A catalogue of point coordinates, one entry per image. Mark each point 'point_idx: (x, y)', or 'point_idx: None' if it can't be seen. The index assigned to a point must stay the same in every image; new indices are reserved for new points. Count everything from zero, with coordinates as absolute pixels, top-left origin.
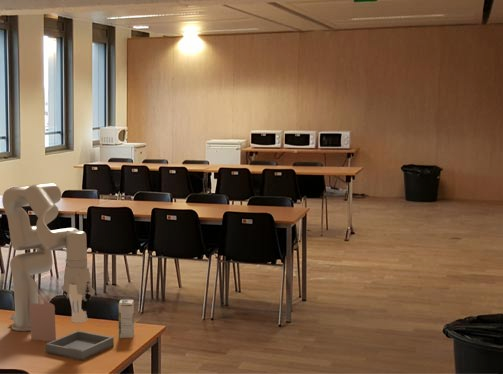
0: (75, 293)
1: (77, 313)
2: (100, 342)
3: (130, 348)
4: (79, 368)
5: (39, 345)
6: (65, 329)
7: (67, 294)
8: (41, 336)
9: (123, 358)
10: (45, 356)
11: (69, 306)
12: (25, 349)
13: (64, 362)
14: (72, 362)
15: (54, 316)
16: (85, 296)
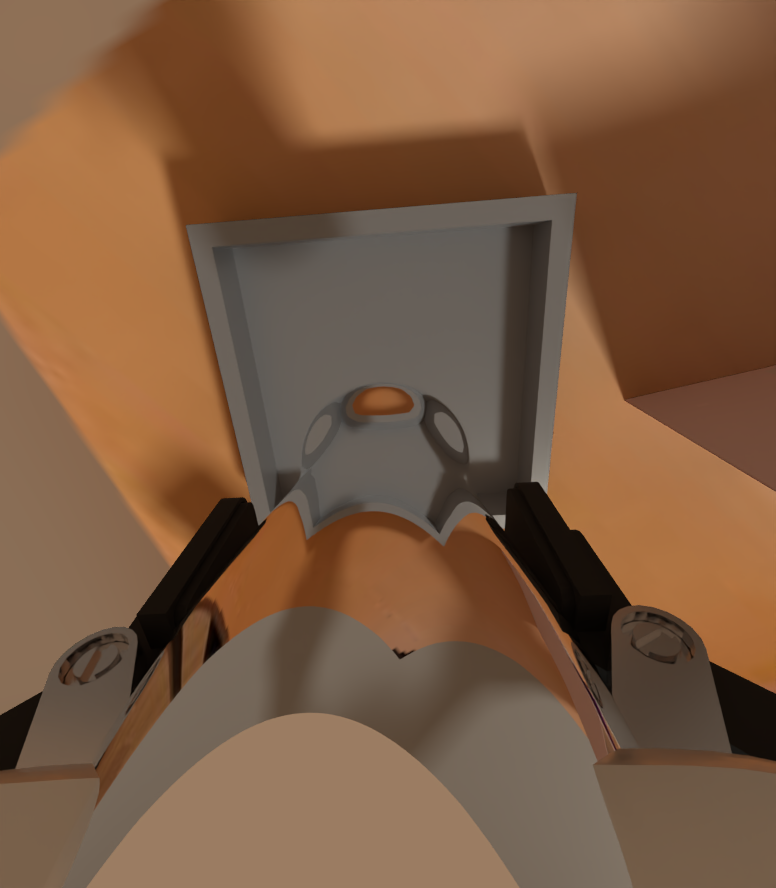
0: (149, 762)
1: (329, 447)
2: (246, 439)
3: (176, 523)
4: (100, 92)
5: (692, 294)
6: (697, 565)
7: (698, 702)
8: (756, 381)
9: (68, 400)
10: (504, 141)
11: (523, 503)
12: (748, 170)
13: (288, 126)
14: (242, 163)
15: (762, 478)
16: (34, 753)
